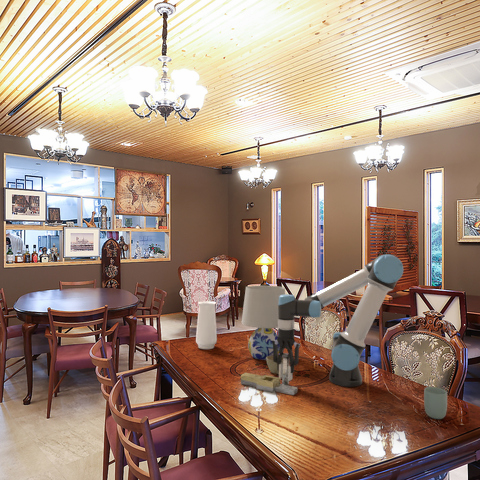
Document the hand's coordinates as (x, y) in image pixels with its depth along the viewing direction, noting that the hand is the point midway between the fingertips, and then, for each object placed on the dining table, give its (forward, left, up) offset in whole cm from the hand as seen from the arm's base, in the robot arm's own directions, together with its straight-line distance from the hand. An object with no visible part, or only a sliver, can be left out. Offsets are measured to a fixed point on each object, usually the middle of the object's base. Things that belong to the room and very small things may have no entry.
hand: (285, 378), depth 177 cm
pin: (0, 0, -3) cm, 3 cm away
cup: (-62, +2, -3) cm, 62 cm away
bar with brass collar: (+5, +8, -3) cm, 10 cm away
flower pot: (+11, -14, -3) cm, 18 cm away
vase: (+68, -35, -3) cm, 77 cm away
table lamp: (+28, -36, -3) cm, 46 cm away
